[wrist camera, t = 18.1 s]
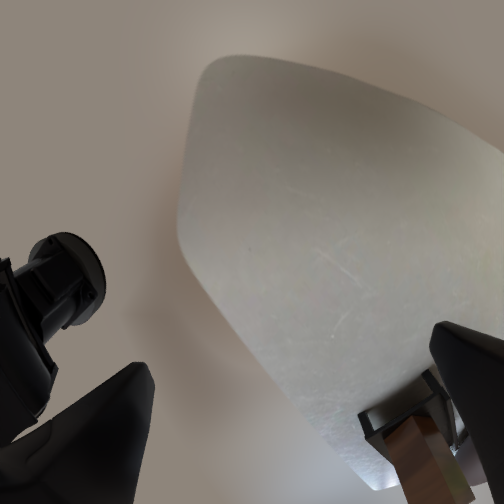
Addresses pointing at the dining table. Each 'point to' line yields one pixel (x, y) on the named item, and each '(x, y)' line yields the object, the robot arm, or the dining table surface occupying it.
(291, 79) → the dining table surface
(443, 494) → the walnut block
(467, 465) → the smooth stone
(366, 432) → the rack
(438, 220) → the dining table surface
